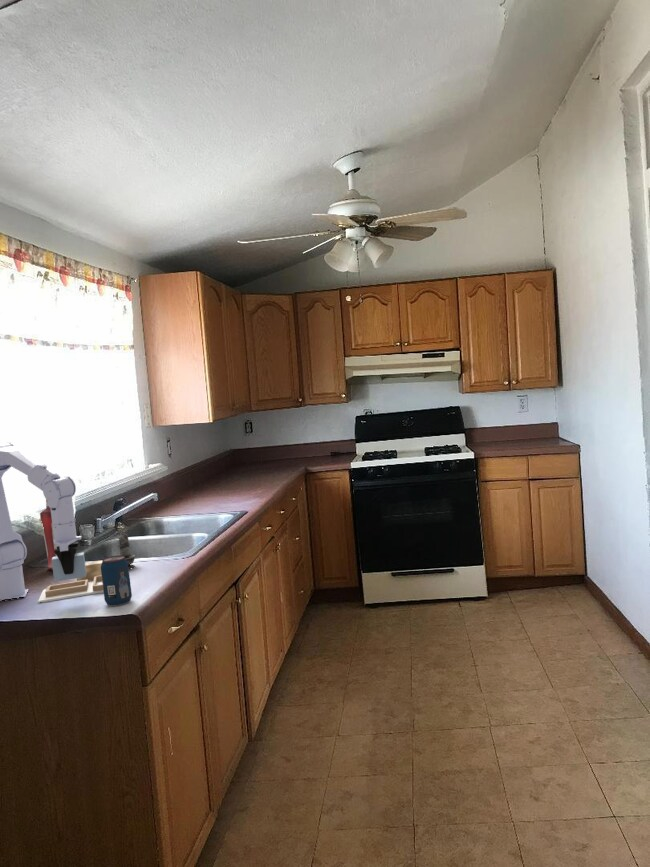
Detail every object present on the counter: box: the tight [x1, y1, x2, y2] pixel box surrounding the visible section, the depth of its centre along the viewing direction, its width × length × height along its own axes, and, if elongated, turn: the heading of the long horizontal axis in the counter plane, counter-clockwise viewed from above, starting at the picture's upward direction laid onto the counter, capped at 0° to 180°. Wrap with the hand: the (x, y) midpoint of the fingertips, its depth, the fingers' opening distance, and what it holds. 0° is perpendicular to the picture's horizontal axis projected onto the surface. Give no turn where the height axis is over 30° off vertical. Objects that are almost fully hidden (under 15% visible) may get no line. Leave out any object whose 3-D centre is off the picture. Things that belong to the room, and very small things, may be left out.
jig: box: [37, 575, 104, 604], centre depth 204 cm, size 21×13×2 cm, turn 105°
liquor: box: [39, 498, 58, 571], centre depth 235 cm, size 7×7×28 cm
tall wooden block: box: [76, 560, 102, 582], centre depth 216 cm, size 9×4×5 cm, turn 105°
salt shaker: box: [118, 530, 136, 570], centre depth 226 cm, size 6×6×12 cm
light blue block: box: [52, 552, 86, 582], centre depth 192 cm, size 8×4×6 cm, turn 105°
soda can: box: [101, 554, 133, 607], centre depth 187 cm, size 7×7×12 cm
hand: (69, 572), depth 192 cm, fingers closed on light blue block, 3 cm apart
